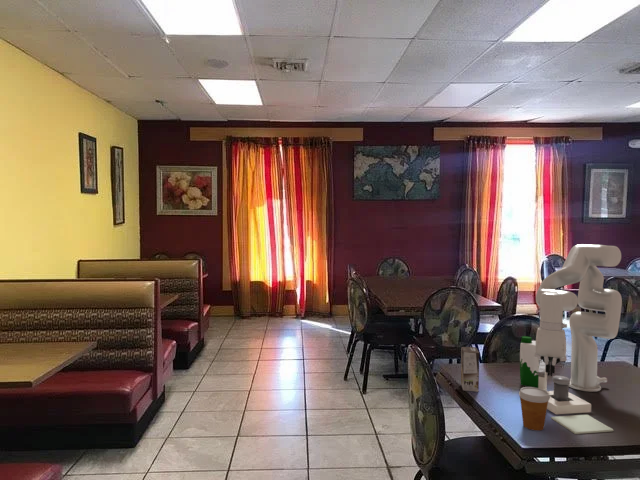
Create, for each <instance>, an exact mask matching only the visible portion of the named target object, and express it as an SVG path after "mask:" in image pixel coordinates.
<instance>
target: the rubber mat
mask: <svg viewBox="0 0 640 480" xmlns="http://www.w3.org/2000/svg"><path fill="white" fill-rule="evenodd" d="M550 418H551V420H553V421H554V422H556V423H557V424H559V425H561V426H562V427H563V428H565V429H567V430H568V431H569V432H571V433H573V434H574V435H581V434H594V433H607V432H609V433H610V432H614V429H613V428H612V427H610V426H608V425H606V424H605V423H603V422H601V421H599V420H598V419H596V418H594V417H592V416H591V415H589V414H576V415H573V414H572V415H559V416H551V417H550Z"/></svg>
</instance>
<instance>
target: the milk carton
mask: <svg viewBox="0 0 640 480" xmlns="http://www.w3.org/2000/svg"><path fill="white" fill-rule="evenodd" d="M532 338H533V337H531V336H528V335H522V336H521V338H520V339H521V341H520V345H519V346H520V349H519V350H520V351H519V378H520V379H519V381H520V386H523V387H524V386H525V387H534V388H538V382H539V377H538V372H539V358H536V357H535V352H536V351H535V346H536V340H533V339H532Z"/></svg>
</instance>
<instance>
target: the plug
mask: <svg viewBox="0 0 640 480" xmlns="http://www.w3.org/2000/svg"><path fill="white" fill-rule="evenodd" d="M570 379H571V378H569V377H568V376H563V375H554V376H553V375H552V383H553V391H554V393H553V399H555V400H557V401H559V402H560V401H568V395H569V393H570V392H569V388H570V387H569V384H570Z"/></svg>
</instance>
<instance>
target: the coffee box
mask: <svg viewBox="0 0 640 480" xmlns="http://www.w3.org/2000/svg"><path fill="white" fill-rule="evenodd" d="M460 350H461V351H460V356H461V358H460V359H461V360H460V370H461V371H460V385H461V388H462V391H467V392H480V390H479V389H480V388H479V385H480V382H479V381H480V352H479V350H478V348H477V347H475V346H461V348H460Z"/></svg>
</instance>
